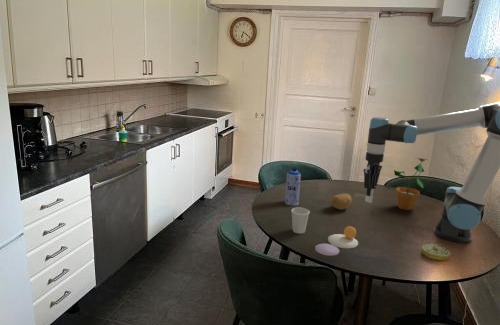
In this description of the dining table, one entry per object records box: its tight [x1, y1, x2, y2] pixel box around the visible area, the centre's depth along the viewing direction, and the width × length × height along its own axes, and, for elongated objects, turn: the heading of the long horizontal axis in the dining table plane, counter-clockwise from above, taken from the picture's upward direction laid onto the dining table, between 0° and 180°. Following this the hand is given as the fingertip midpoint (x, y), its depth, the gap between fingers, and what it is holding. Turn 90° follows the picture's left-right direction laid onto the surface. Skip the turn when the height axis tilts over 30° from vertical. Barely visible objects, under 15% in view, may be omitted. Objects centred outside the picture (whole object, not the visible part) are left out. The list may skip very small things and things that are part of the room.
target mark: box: [327, 233, 359, 249], centre depth 162 cm, size 13×13×1 cm
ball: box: [343, 225, 357, 239], centre depth 165 cm, size 6×6×6 cm
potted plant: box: [393, 156, 428, 211], centre depth 201 cm, size 18×19×30 cm
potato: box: [330, 193, 353, 210], centre depth 199 cm, size 10×14×8 cm
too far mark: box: [314, 243, 340, 257], centre depth 154 cm, size 10×10×1 cm
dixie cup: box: [290, 206, 311, 235], centre depth 169 cm, size 8×8×10 cm
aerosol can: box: [284, 167, 302, 206], centre depth 202 cm, size 8×8×20 cm
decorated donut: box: [421, 243, 451, 262], centre depth 153 cm, size 10×11×4 cm
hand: (368, 201), depth 172 cm, fingers closed
